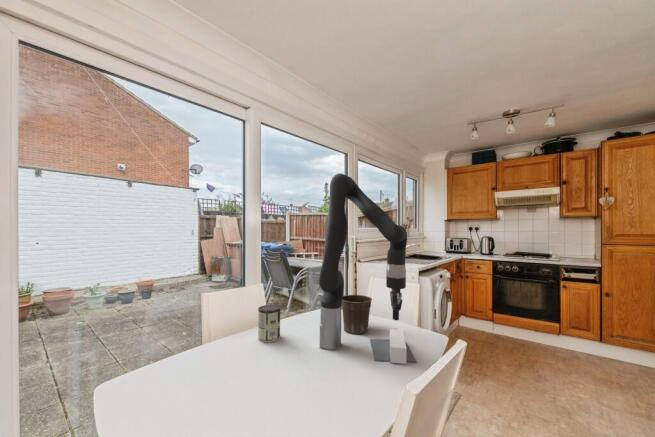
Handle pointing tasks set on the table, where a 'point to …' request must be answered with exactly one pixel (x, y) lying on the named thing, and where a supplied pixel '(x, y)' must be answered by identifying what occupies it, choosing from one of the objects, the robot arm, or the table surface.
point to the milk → (397, 346)
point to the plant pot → (356, 313)
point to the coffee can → (269, 323)
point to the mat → (387, 351)
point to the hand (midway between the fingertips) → (395, 319)
